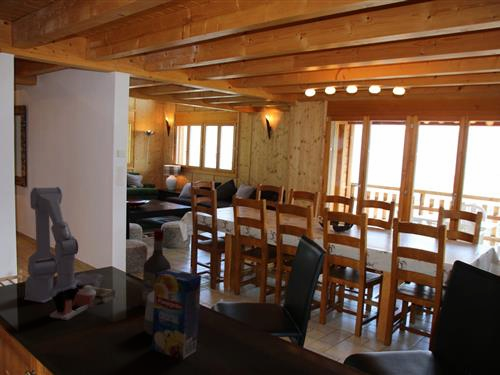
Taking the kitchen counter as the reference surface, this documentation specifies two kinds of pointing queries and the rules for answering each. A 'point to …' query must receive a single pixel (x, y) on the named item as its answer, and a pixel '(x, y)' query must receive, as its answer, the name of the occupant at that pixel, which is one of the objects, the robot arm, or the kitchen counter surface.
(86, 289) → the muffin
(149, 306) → the smart speaker
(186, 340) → the juice carton
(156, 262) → the liquor
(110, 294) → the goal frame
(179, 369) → the kitchen counter surface
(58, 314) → the white rails red ends
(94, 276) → the stone block
